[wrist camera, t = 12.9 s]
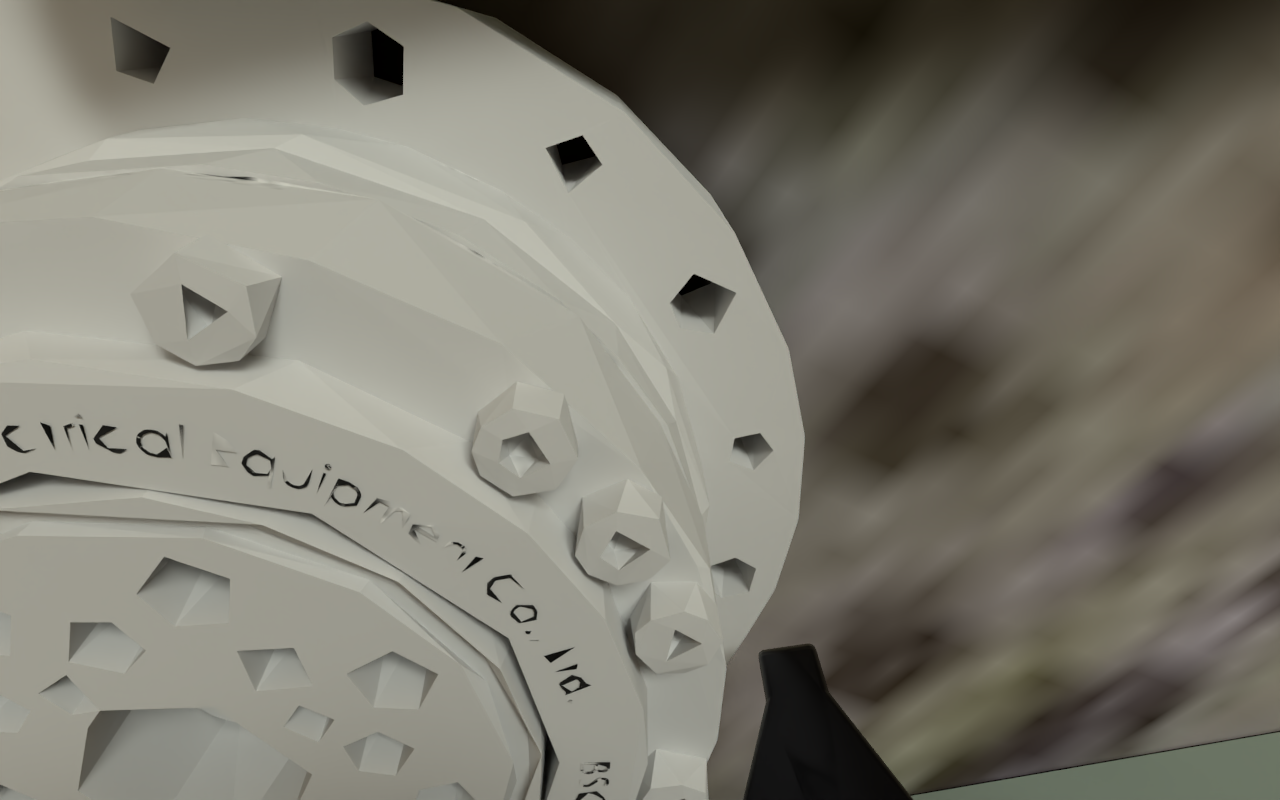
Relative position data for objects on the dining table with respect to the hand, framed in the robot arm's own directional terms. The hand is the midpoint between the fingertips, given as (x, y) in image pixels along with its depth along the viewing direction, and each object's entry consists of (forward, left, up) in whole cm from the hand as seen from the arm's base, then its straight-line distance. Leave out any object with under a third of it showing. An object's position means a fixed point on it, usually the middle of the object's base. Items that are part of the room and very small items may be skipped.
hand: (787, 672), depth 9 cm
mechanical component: (+4, -3, -2) cm, 6 cm away
